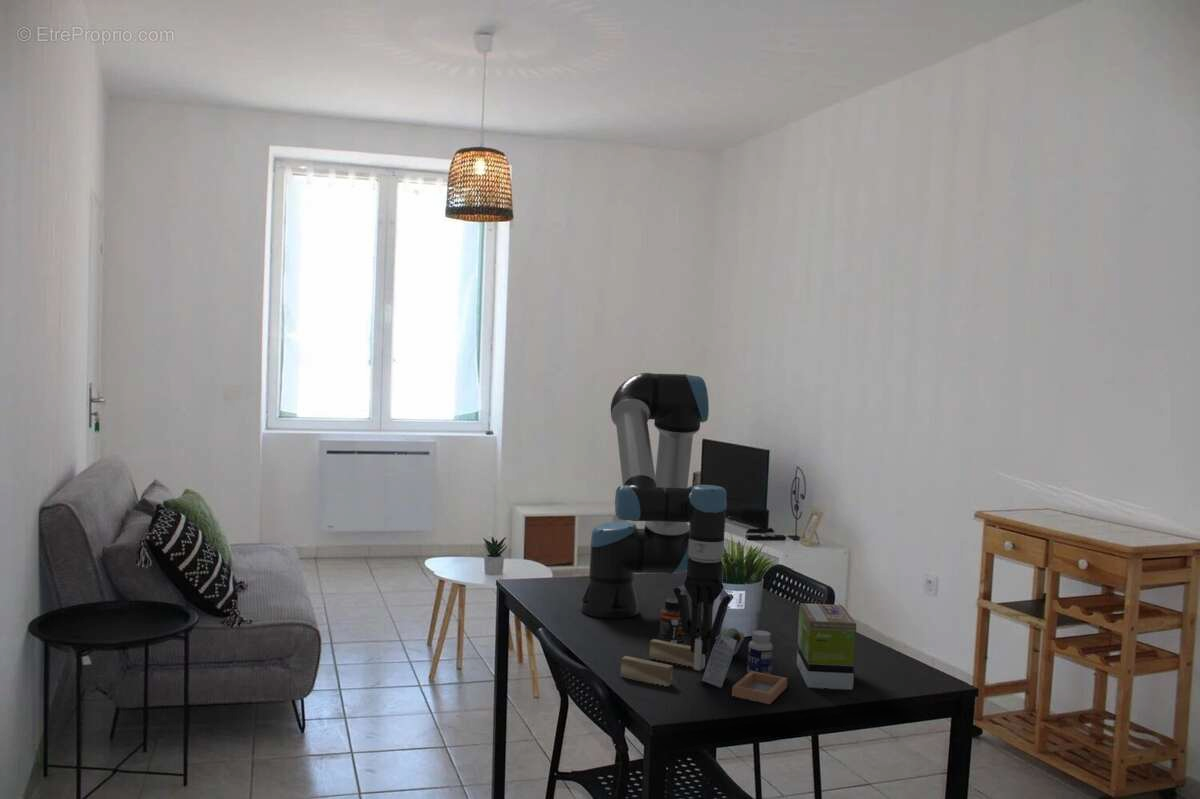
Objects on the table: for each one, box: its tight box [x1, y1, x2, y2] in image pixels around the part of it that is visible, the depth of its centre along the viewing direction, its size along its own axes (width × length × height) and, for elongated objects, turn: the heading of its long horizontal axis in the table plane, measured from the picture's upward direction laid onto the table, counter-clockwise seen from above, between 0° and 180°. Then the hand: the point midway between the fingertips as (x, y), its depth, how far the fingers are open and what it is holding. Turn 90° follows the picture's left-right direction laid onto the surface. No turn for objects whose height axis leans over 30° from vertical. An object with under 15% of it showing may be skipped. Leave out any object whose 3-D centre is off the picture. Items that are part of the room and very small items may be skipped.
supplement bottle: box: [658, 598, 686, 645], centre depth 236 cm, size 6×6×11 cm
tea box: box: [796, 602, 857, 691], centre depth 220 cm, size 15×10×15 cm, turn 178°
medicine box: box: [702, 633, 737, 689], centre depth 213 cm, size 8×4×9 cm, turn 168°
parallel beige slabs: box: [620, 638, 694, 687], centre depth 219 cm, size 17×11×4 cm, turn 153°
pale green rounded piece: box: [715, 627, 745, 656], centre depth 231 cm, size 8×4×7 cm, turn 121°
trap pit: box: [731, 671, 788, 705], centre depth 209 cm, size 12×8×2 cm, turn 153°
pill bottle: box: [746, 630, 774, 675], centre depth 221 cm, size 5×5×9 cm
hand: (698, 668), depth 215 cm, fingers closed
